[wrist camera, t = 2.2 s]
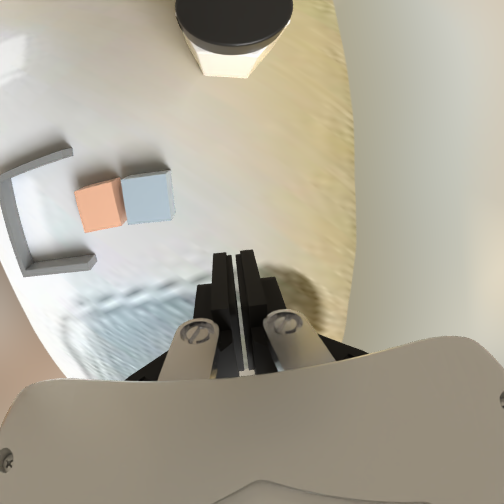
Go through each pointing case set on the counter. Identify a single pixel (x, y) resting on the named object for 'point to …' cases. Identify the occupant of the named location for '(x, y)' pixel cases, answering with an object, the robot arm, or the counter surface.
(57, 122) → the counter surface
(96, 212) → the tile
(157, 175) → the tile
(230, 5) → the jar
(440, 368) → the robot arm
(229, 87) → the counter surface
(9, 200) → the tray
